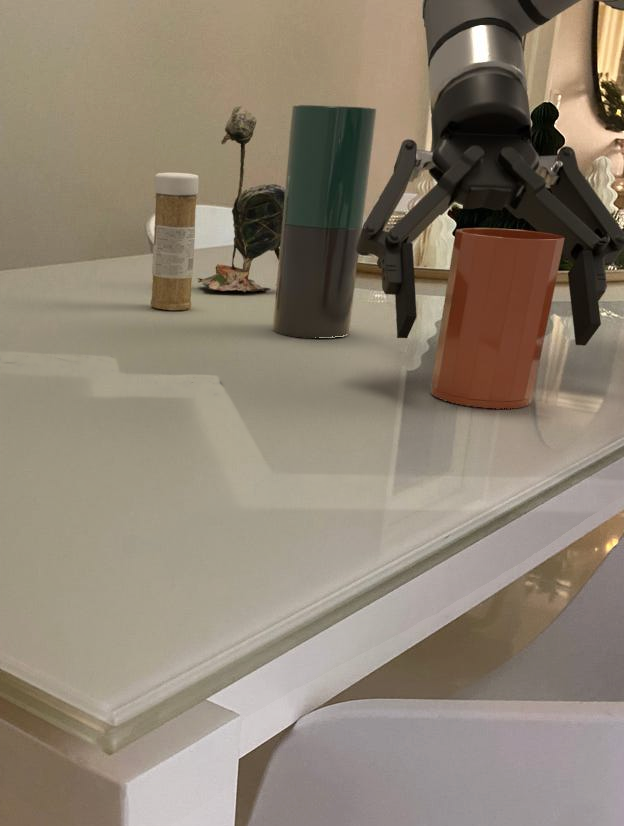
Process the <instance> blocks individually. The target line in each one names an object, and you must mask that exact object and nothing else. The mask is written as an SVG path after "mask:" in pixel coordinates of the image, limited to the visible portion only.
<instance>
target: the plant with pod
mask: <svg viewBox="0 0 624 826" xmlns="http://www.w3.org/2000/svg"><path fill="white" fill-rule="evenodd" d="M230 115H231V116H230V117H229V119H228V120H227V122H226V125H225V127H224V131H225V133H226V134H225V136H223V139H222V140H221V142H220V143H221V145H225V144H226V143H227V141H229V140H231V142H232V141H235V142H236V143H237V144H239V145H240V158H239V159H240V162H239V163H240V165H239V166H240V169H239V182H238V190H237V197H236V198H235V199H234V202H233V208H232V209H231V214H232V221H233V224H232V226H233V232H234V233H233V234H234V237H233V252H232V256H231V257H232V260H231V266H230V265H226V264H220V263H217V265H216V266H215V274H213V275H211V276H208V277H205V278H198V277H197V278H196V280H197V283H201V284H202V285H203V288H204V289H205V290H212V291H221V292H225V291H236V290H237V291H242V292H243V293H247V292H257V291H265V292H267V291H269V290H270V291H271V287H270V288H269V287H262V286H261V285H259V284H257V283H256V282H255V280H253V279H251V278H250V279H249V276H250V269H251V266H252V262H253V260H254V259H257V258H259V257H261V256H262V255H264V254H265V253H267V252H269V251H270V252H274V254H275V256H276V258H277V260H278V261H279V253H280V242H281V230H282V219H283V208H284V197H285V187H283V186H281V185H279V184H277V183H264V184H260V185H257V186H253V187H250V188H248V190H247V189H245V190H244V191H243V190H242V188H243V182H244V174H245V168H244V167H245V157H246V144H248V143H249V142H250V141H251V139H252V137H253V135H254V131H255V128H256V125H257V118H256V116H255V115H253V113H252V112H250V111H249V110H247V109H246V108H244V107H243V106H242V105H238V106H236V107H234V108H233V110H232V112H231V114H230ZM237 251H238V252H239V254H240V255H241V257H242V259H243V263H242V268H240V267H236V266H235V264H234V259H235V256H236V252H237Z"/></svg>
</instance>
